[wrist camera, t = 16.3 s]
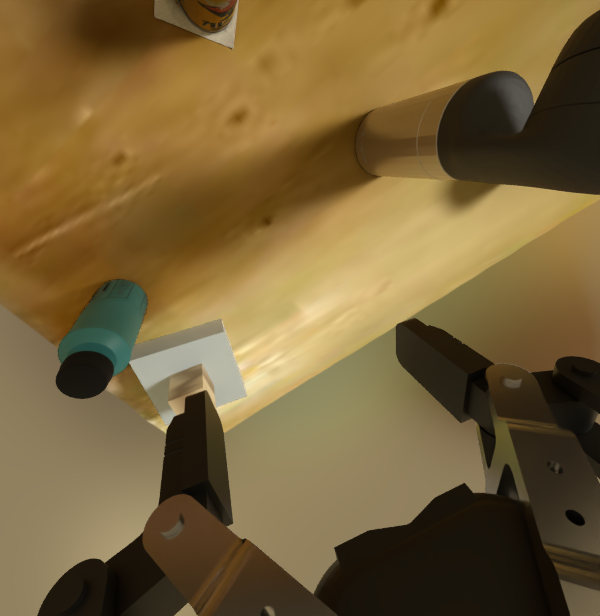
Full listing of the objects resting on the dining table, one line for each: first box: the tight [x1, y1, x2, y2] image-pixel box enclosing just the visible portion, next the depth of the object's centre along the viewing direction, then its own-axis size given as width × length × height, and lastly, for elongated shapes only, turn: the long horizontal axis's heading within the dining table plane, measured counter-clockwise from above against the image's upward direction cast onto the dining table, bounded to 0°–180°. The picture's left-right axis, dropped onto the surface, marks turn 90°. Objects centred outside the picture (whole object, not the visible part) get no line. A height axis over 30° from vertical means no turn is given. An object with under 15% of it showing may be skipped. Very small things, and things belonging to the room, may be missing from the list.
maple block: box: [168, 363, 216, 415], centre depth 44 cm, size 5×5×6 cm
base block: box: [129, 319, 247, 425], centre depth 49 cm, size 14×14×5 cm
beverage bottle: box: [56, 279, 148, 399], centre depth 34 cm, size 6×7×20 cm
